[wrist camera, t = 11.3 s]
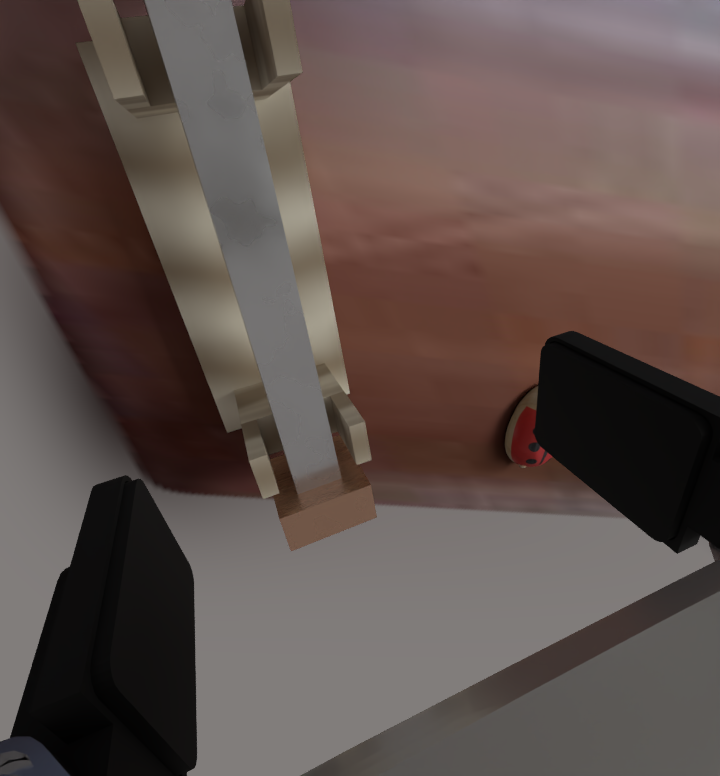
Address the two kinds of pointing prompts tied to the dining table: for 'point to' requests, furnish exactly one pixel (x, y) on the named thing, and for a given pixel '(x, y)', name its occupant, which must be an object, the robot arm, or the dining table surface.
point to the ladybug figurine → (525, 434)
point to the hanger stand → (193, 221)
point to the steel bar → (258, 263)
